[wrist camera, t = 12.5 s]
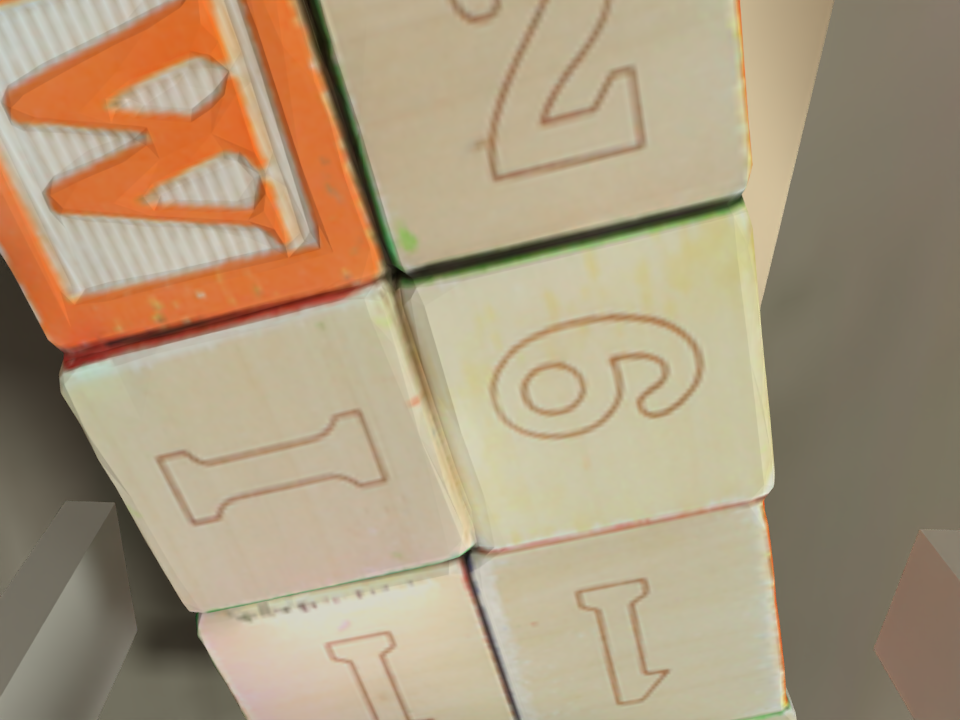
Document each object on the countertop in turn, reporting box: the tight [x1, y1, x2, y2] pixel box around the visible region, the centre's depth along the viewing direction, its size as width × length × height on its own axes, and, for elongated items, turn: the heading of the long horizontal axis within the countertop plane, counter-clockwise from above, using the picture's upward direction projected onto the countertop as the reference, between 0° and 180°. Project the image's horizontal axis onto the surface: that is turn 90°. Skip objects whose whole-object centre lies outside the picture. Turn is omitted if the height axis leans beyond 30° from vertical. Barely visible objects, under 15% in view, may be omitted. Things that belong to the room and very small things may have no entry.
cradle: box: [740, 0, 834, 307], centre depth 20 cm, size 12×26×6 cm, turn 176°
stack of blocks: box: [0, 0, 796, 720], centre depth 16 cm, size 21×6×12 cm, turn 13°
